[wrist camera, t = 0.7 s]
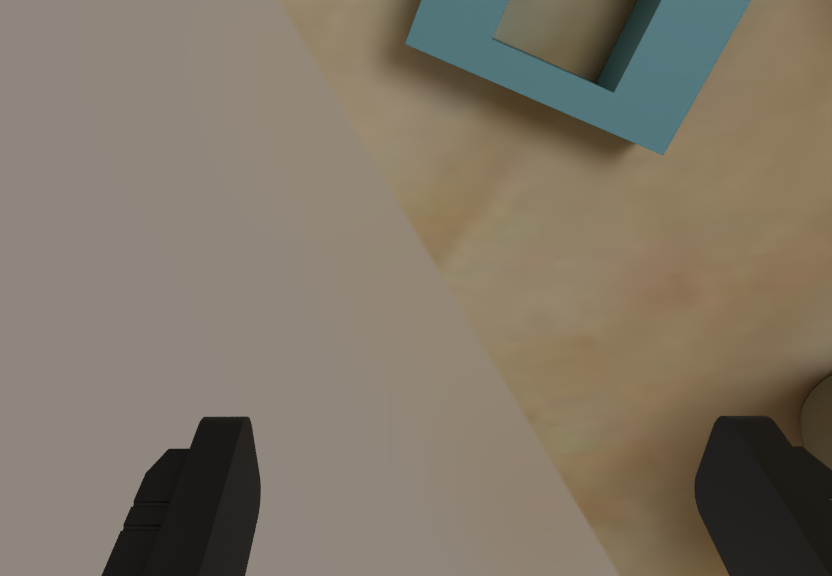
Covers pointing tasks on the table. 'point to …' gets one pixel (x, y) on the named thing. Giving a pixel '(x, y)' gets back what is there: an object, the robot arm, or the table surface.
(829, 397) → the plant pot
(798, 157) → the table surface
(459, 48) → the jig
